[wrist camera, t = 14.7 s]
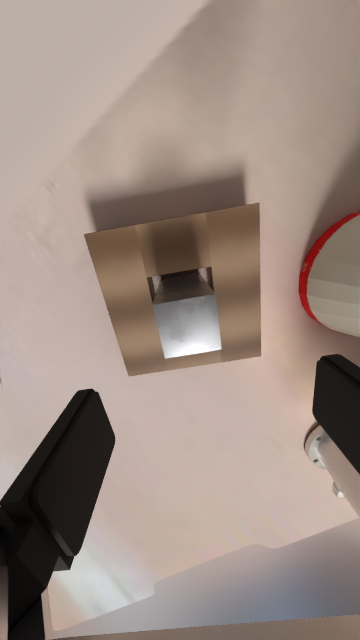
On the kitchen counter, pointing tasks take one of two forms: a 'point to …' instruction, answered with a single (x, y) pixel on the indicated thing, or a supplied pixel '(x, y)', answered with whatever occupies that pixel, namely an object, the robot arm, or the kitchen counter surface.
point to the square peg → (186, 316)
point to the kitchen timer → (334, 277)
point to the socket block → (175, 256)
